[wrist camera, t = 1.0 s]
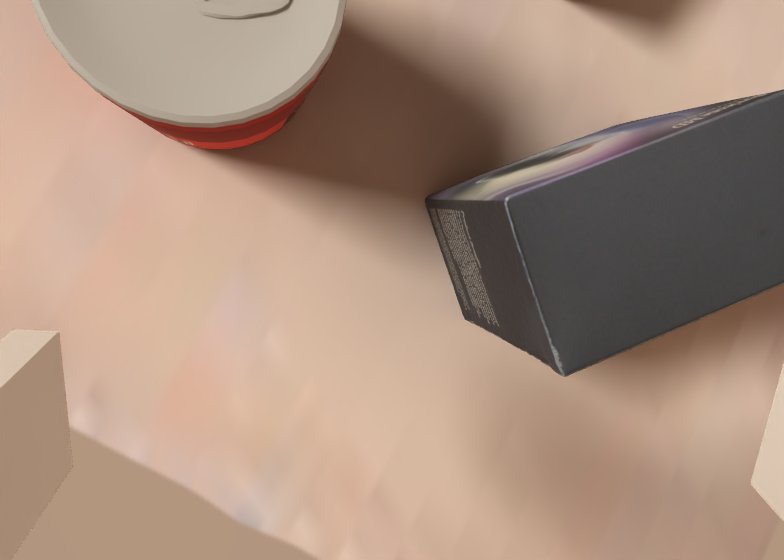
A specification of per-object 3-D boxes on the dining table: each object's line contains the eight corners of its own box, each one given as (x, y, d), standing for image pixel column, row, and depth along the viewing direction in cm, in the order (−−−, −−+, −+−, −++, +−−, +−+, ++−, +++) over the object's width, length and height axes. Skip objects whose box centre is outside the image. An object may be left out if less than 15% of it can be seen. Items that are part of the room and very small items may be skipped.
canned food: (327, 135, 29) (372, 102, 18) (133, 166, 28) (61, 148, 17) (294, -54, 28) (321, -207, 17) (89, -32, 27) (-18, -184, 16)
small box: (626, 112, 32) (803, 74, 22) (663, 243, 33) (847, 266, 23) (417, 191, 30) (502, 190, 20) (464, 325, 32) (566, 389, 21)
